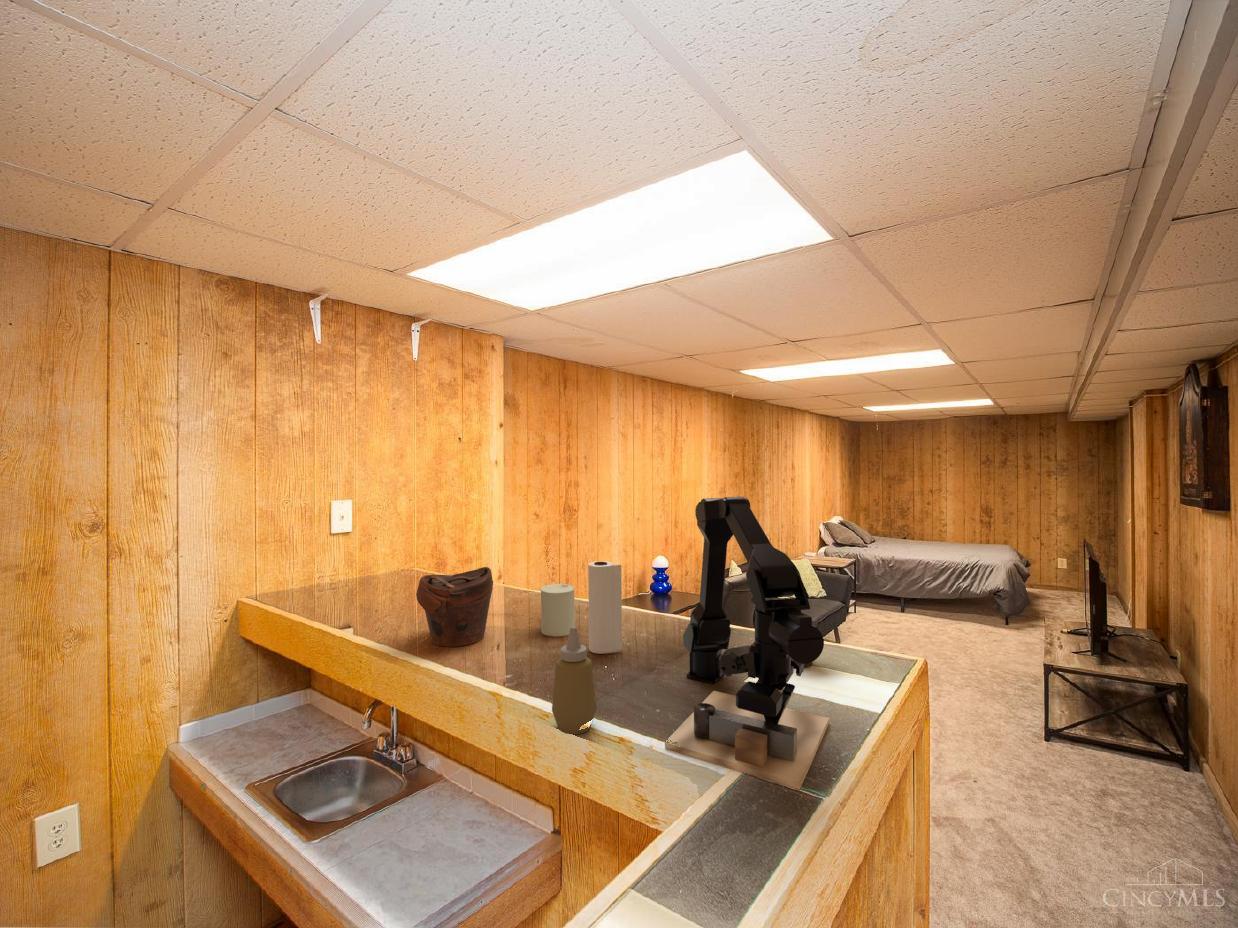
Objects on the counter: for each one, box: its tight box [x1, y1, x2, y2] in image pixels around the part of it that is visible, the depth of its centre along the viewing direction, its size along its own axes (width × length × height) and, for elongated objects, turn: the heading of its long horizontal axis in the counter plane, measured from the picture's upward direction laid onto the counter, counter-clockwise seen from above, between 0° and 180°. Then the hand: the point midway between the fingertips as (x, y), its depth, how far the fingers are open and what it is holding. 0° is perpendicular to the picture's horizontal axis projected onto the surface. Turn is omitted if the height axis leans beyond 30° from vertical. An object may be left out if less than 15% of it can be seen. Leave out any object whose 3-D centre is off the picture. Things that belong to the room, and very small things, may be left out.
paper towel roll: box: [587, 560, 623, 655], centre depth 137 cm, size 7×6×21 cm
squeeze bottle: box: [551, 626, 597, 735], centre depth 101 cm, size 8×8×18 cm
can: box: [540, 583, 576, 638], centre depth 151 cm, size 9×9×12 cm
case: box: [415, 566, 494, 648], centre depth 145 cm, size 18×20×18 cm
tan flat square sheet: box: [664, 690, 830, 790], centre depth 98 cm, size 22×22×1 cm
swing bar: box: [693, 702, 797, 761], centre depth 93 cm, size 17×4×4 cm, turn 61°
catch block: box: [735, 728, 767, 768], centre depth 89 cm, size 4×2×4 cm, turn 59°
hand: (771, 730), depth 93 cm, fingers closed
